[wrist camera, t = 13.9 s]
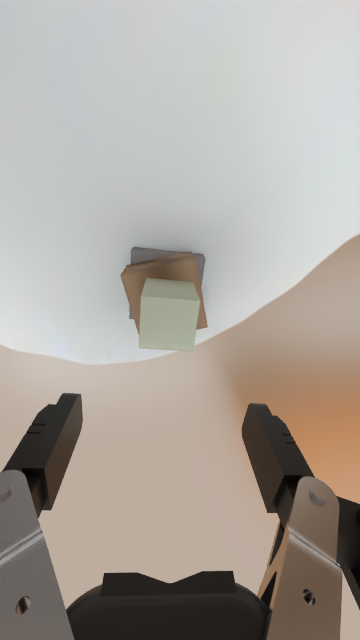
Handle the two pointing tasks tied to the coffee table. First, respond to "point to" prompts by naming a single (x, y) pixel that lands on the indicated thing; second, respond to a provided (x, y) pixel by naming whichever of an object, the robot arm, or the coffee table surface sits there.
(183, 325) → the sage block
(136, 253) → the charcoal slab
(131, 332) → the coffee table surface
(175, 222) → the coffee table surface
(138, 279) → the walnut block
